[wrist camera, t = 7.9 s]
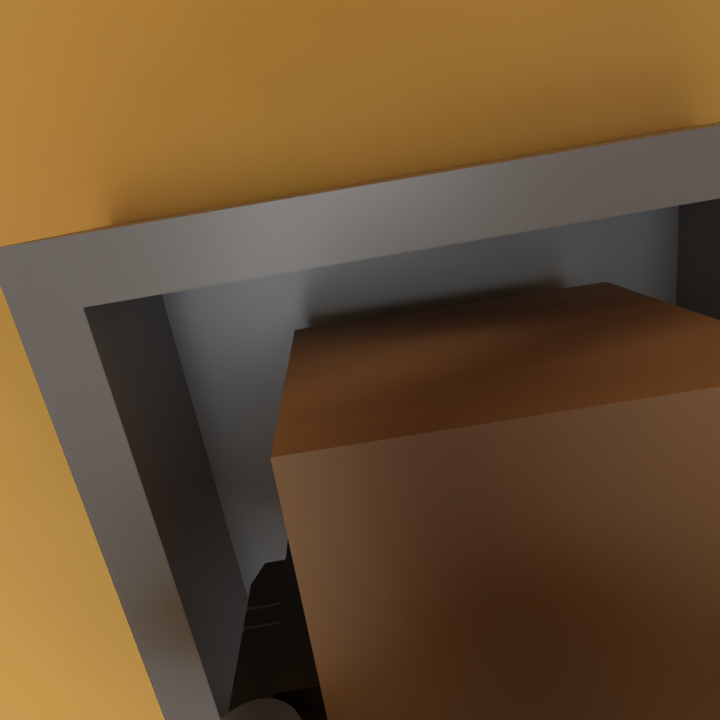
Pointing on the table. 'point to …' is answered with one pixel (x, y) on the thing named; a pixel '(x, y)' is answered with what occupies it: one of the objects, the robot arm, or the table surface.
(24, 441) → the table surface
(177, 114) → the table surface
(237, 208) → the tray
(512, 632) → the walnut block
